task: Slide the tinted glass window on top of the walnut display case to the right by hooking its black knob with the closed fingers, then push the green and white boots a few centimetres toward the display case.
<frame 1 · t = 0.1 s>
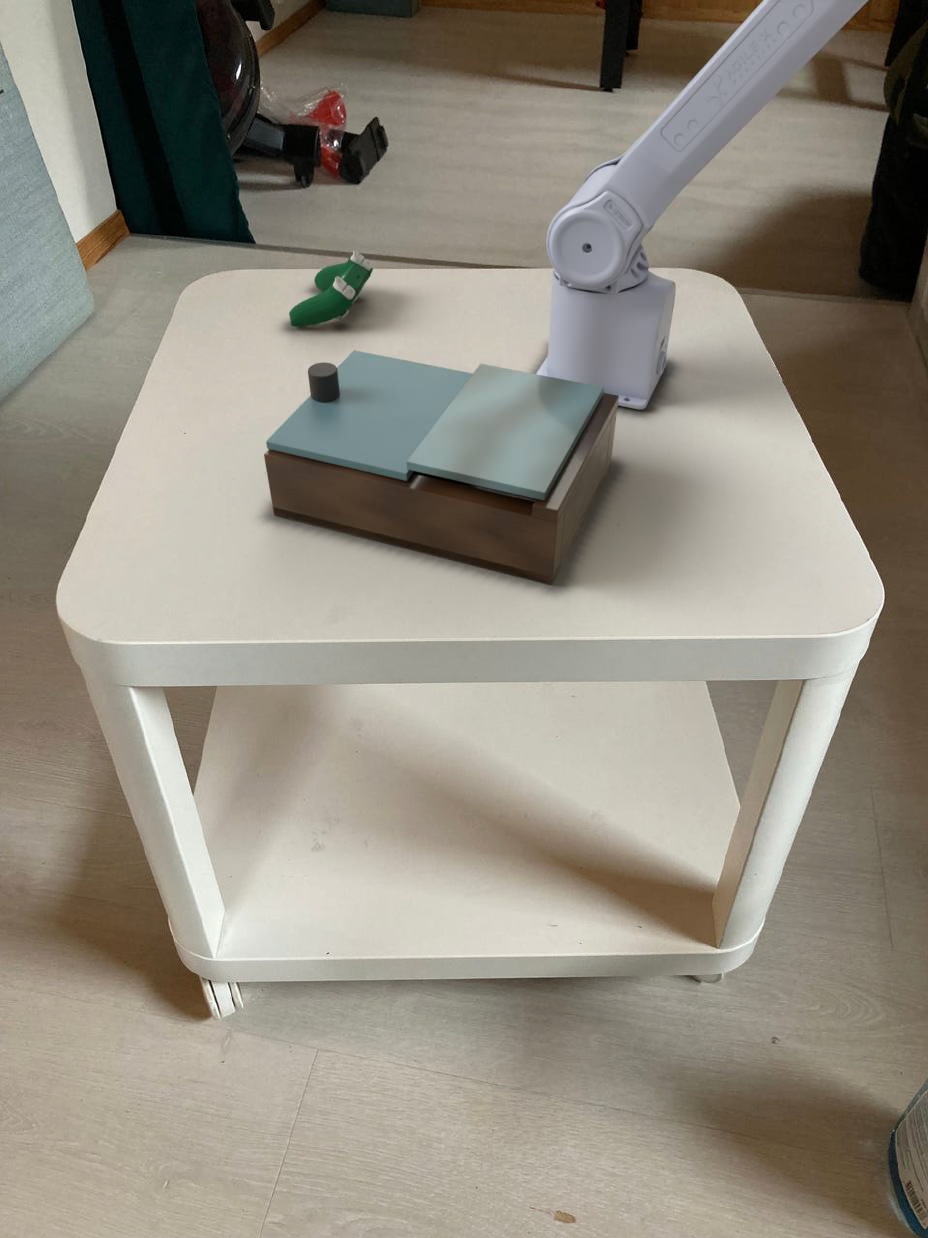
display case: (447, 490, 69), on the table
green and white boots: (335, 311, 90), on the table
window pane: (377, 397, 66), point 6 cm above the table, slide at 0.0 cm
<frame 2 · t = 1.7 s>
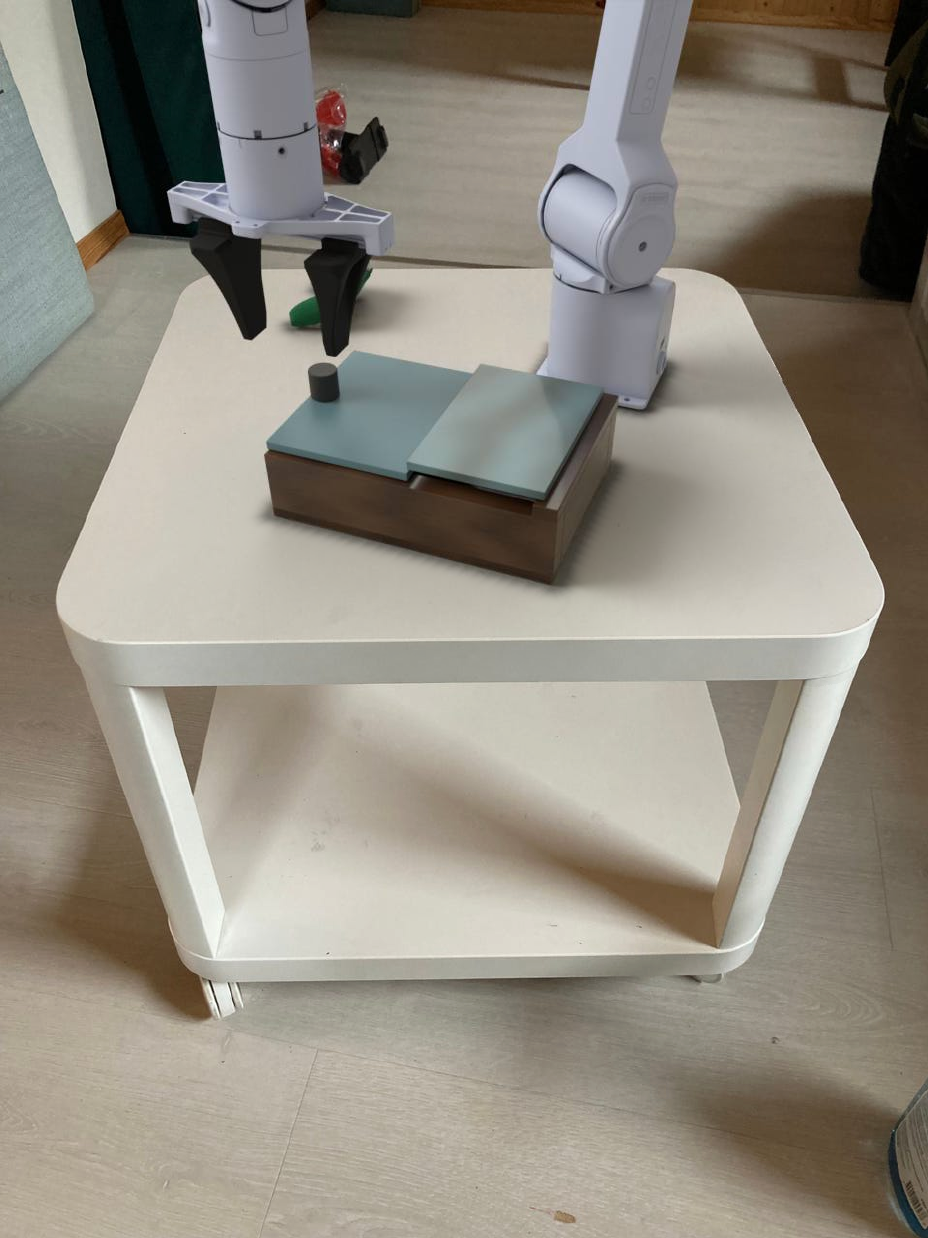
hand: (295, 341, 66), 9 cm above the table, tool pointing down, fingers open, 6 cm apart
nothing on the table moved.
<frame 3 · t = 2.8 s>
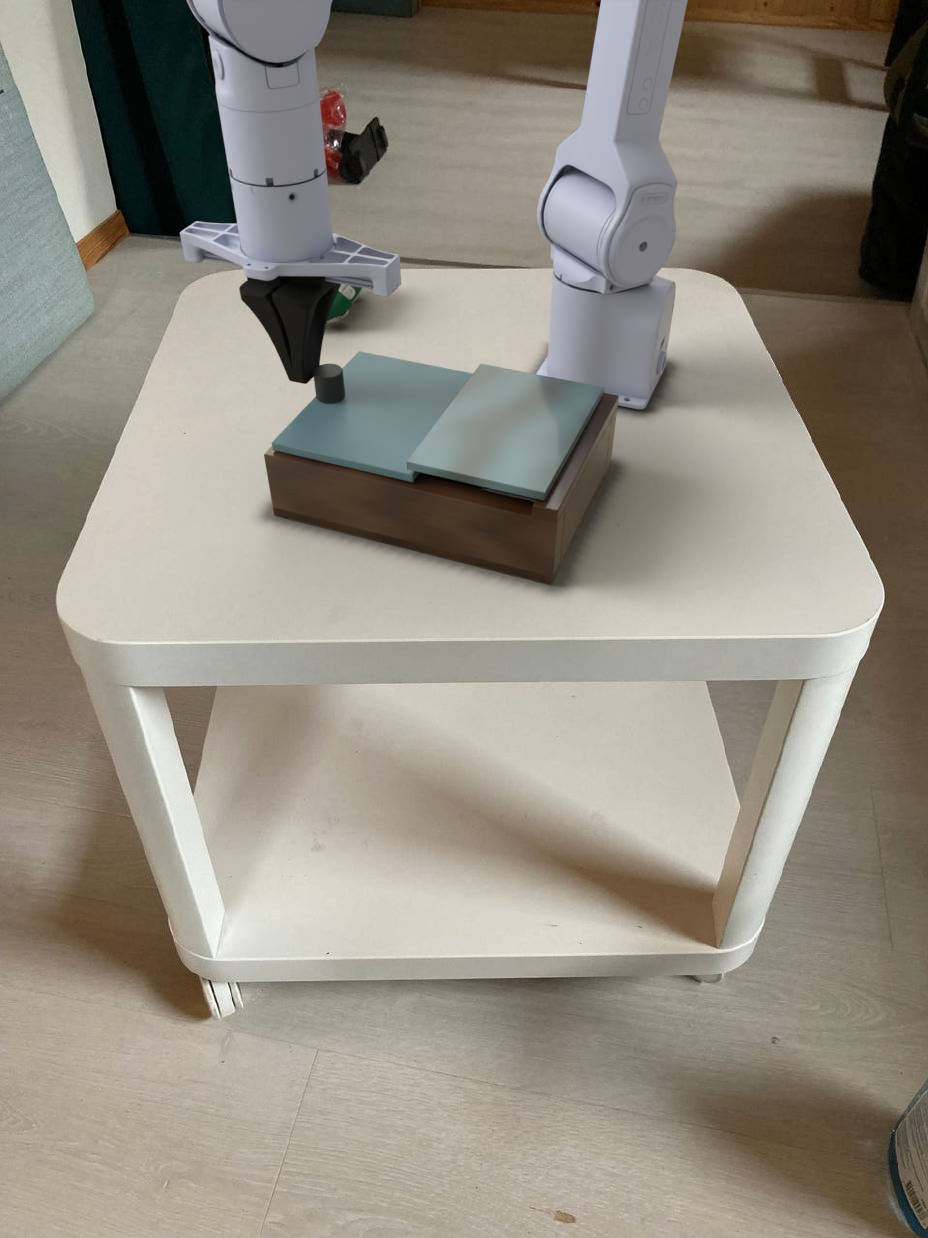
hand: (304, 375, 67), 7 cm above the table, tool pointing down, fingers closed
window pane: (382, 398, 66), point 6 cm above the table, slide at 0.4 cm
everything else where it was.
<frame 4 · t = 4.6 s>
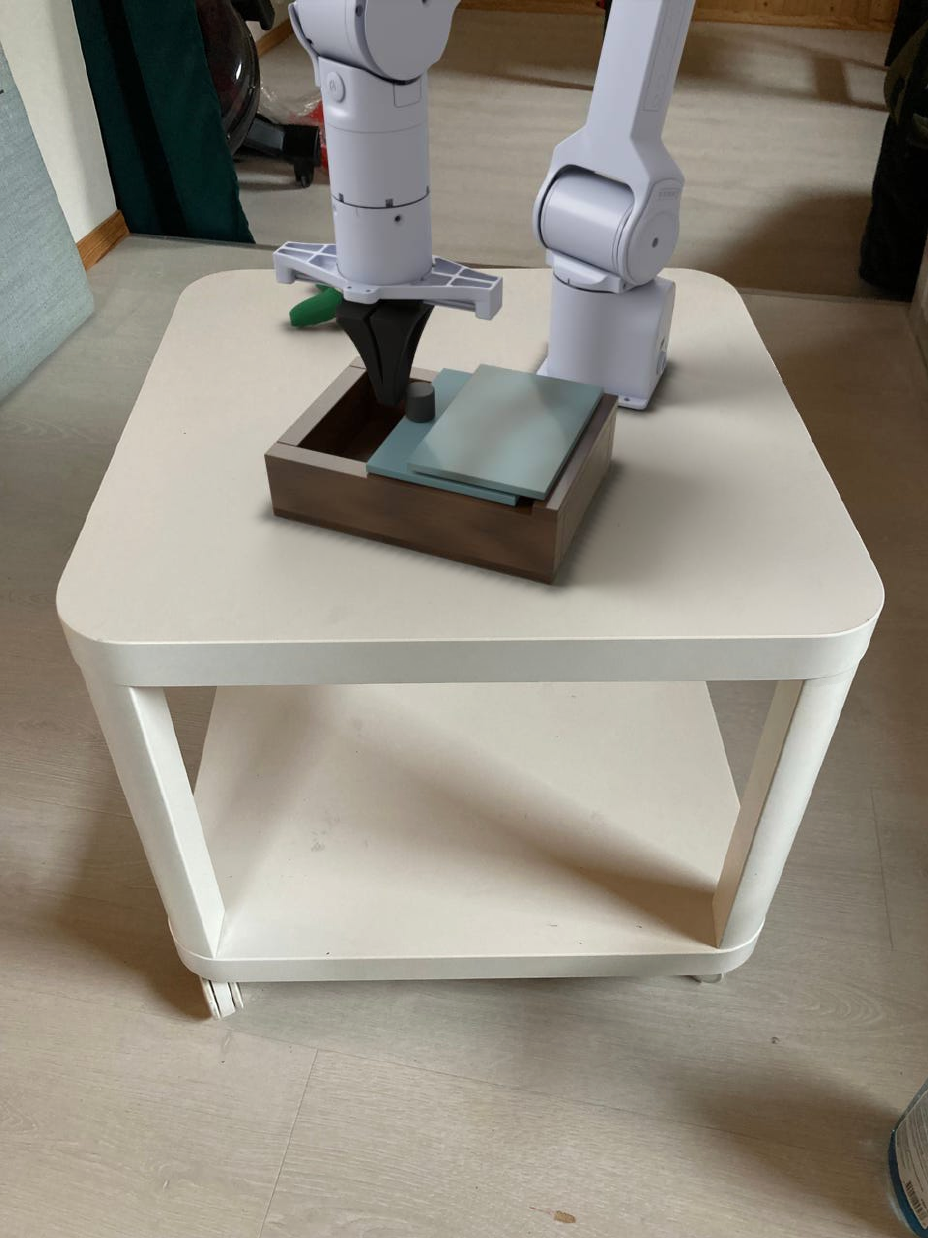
hand: (393, 397, 66), 7 cm above the table, tool pointing down, fingers closed
window pane: (476, 417, 64), point 6 cm above the table, slide at 7.2 cm, touching gripper
everything else where it was.
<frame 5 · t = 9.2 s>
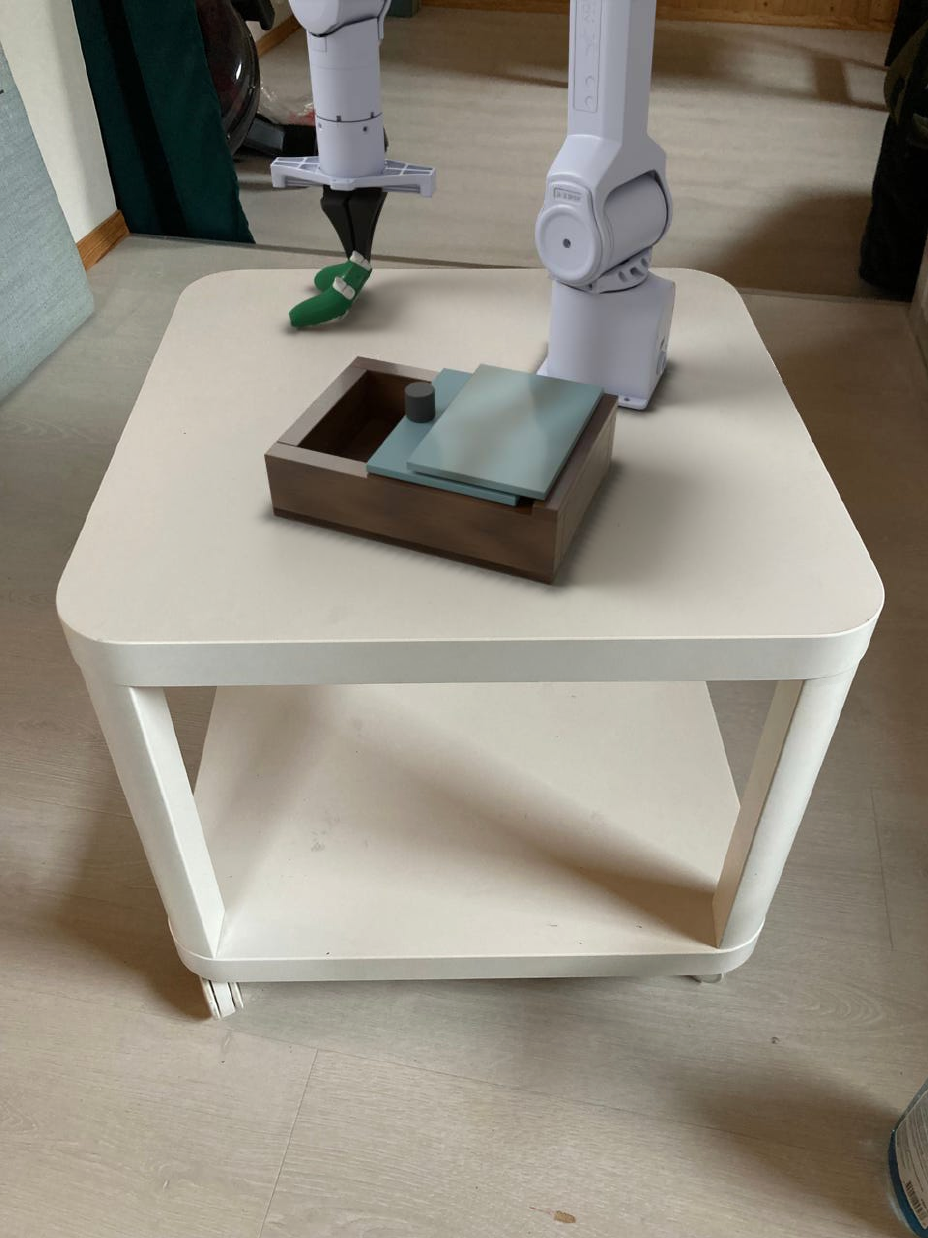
hand: (360, 267, 92), 2 cm above the table, tool pointing down, fingers closed
green and white boots: (334, 312, 89), on the table, touching gripper
window pane: (476, 417, 64), point 6 cm above the table, slide at 7.2 cm
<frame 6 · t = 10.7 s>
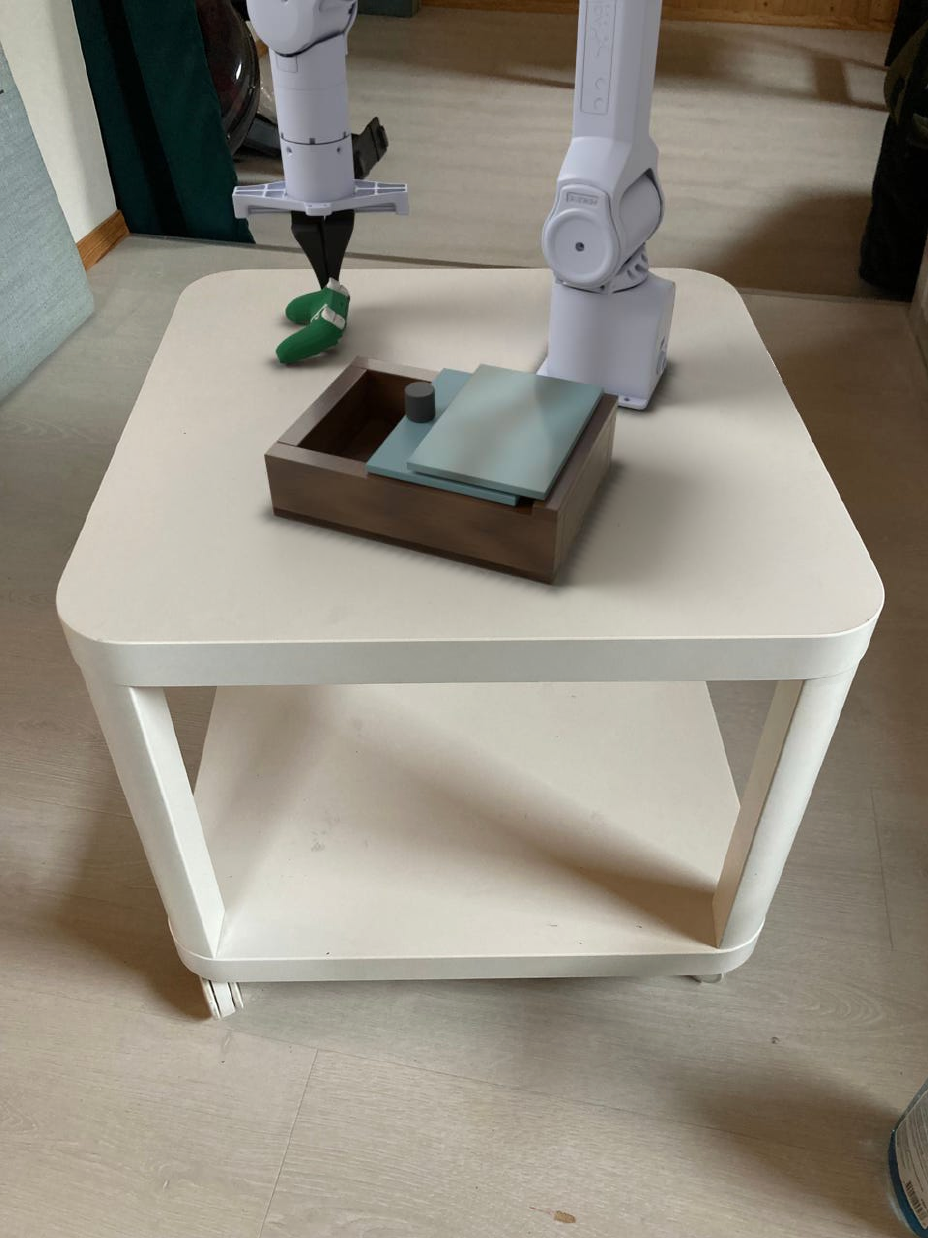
hand: (331, 294, 88), 2 cm above the table, tool pointing down, fingers closed
green and white boots: (316, 343, 85), on the table, touching gripper
everything else where it was.
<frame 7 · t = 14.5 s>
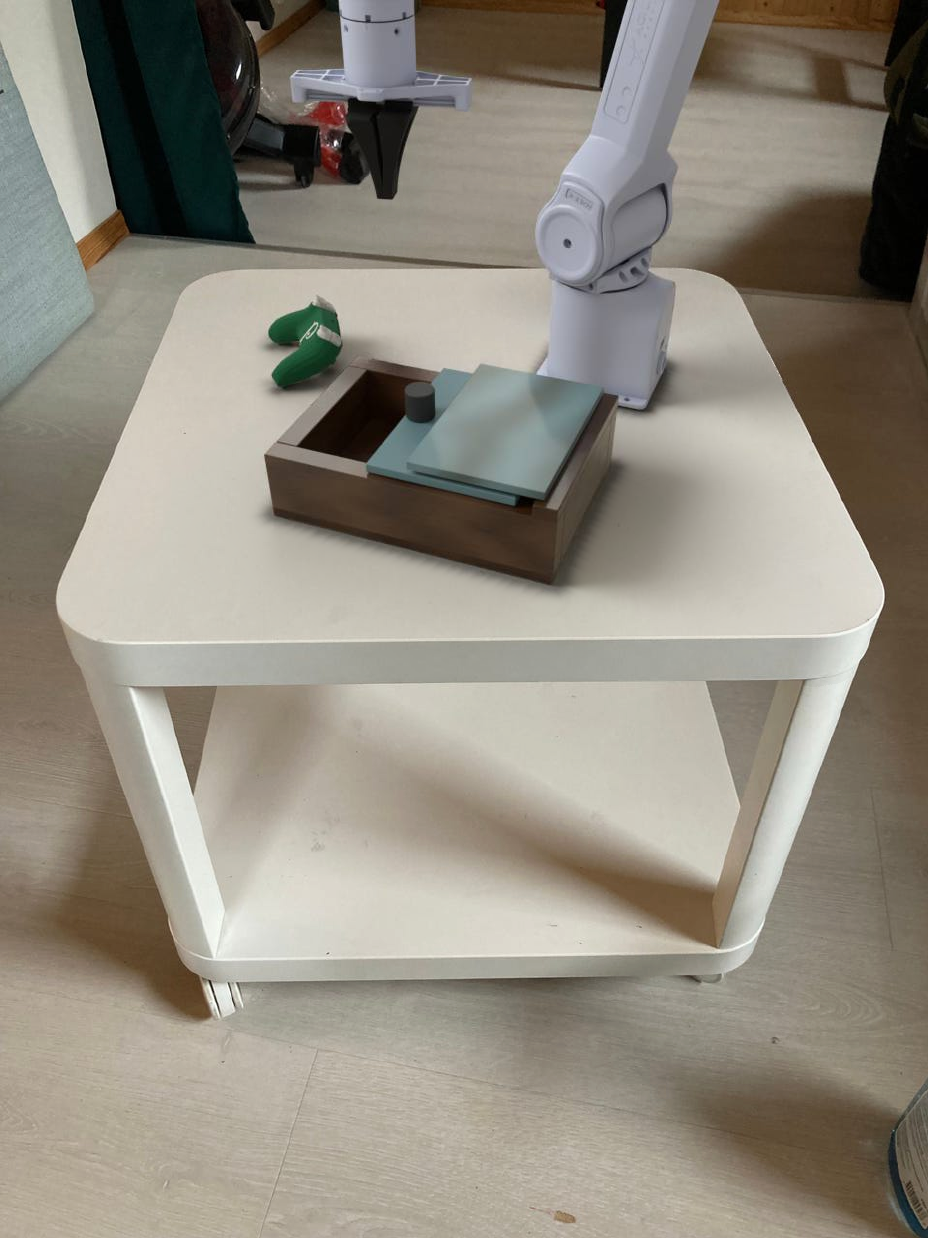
hand: (387, 195, 85), 9 cm above the table, tool pointing down, fingers closed
green and white boots: (307, 363, 83), on the table
everything else where it was.
at the end: window pane slide at 7.2 cm; green and white boots 3.4 cm from the target spot on the table beside the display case, on the table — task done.
